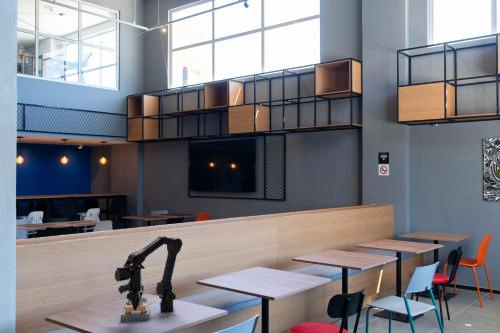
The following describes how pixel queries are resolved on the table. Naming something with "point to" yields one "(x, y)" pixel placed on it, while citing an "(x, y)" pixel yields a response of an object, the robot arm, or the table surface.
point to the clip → (139, 308)
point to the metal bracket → (142, 302)
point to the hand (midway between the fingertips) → (135, 308)
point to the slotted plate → (135, 316)
